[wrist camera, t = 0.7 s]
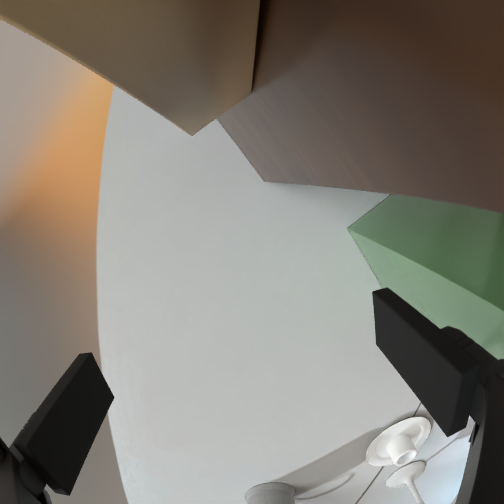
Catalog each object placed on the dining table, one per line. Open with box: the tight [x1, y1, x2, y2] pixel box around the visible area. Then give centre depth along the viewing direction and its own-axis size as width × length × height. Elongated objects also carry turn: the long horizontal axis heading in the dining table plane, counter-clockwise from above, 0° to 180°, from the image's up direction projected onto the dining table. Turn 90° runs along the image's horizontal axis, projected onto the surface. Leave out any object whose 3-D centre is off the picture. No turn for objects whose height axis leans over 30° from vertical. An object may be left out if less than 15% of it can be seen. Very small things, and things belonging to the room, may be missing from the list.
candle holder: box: [366, 417, 431, 466], centre depth 38 cm, size 12×12×4 cm
